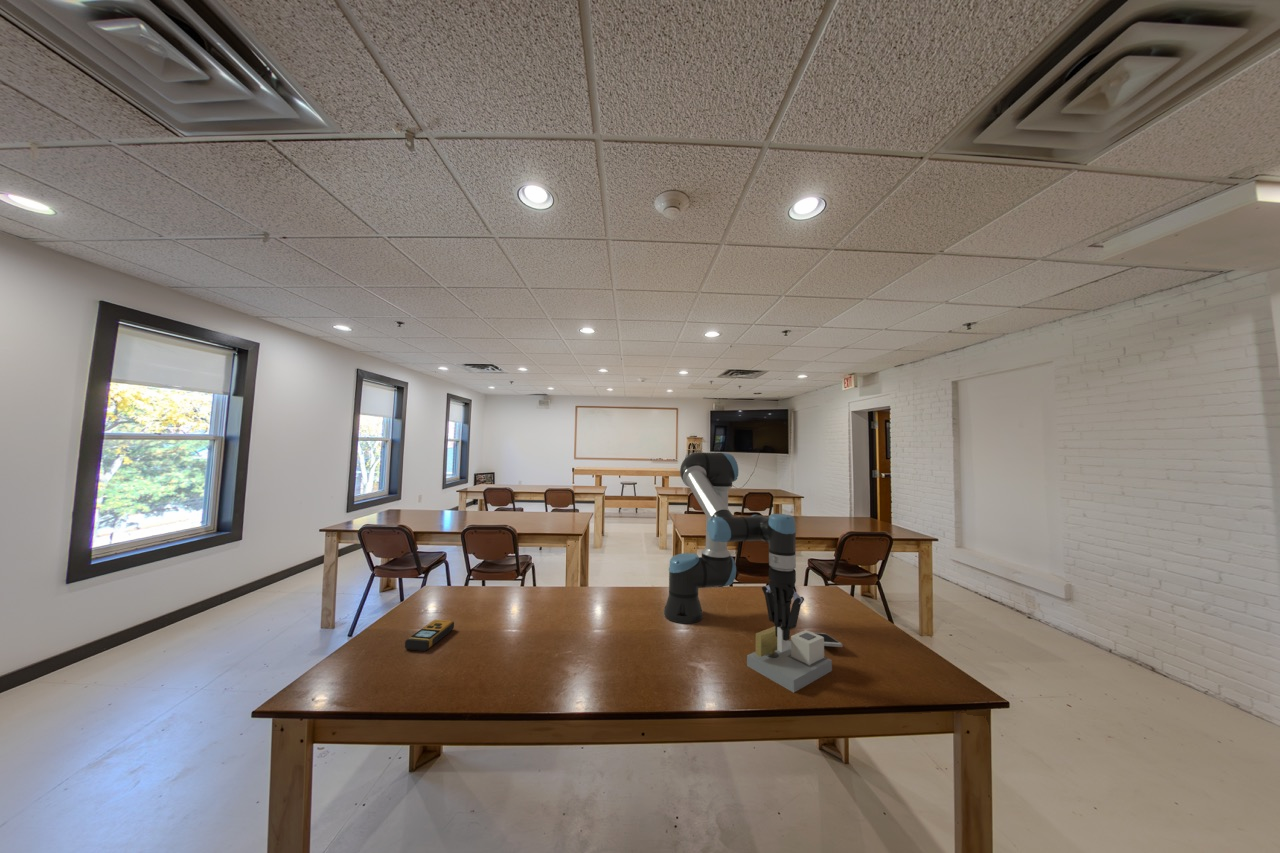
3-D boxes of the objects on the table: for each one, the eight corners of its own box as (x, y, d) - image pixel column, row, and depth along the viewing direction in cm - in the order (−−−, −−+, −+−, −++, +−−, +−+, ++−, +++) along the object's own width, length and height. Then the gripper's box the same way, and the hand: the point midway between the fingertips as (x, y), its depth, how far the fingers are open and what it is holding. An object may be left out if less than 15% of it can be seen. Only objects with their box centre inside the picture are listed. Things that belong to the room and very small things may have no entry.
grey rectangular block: (791, 656, 121) (791, 635, 121) (806, 649, 126) (805, 629, 126) (809, 665, 116) (809, 643, 116) (824, 657, 121) (823, 636, 121)
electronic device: (455, 629, 141) (456, 619, 141) (428, 651, 126) (428, 640, 126) (433, 627, 142) (433, 617, 142) (403, 649, 126) (404, 638, 127)
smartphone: (820, 645, 129) (820, 642, 130) (805, 634, 144) (805, 631, 144) (843, 647, 129) (842, 644, 129) (825, 635, 144) (825, 632, 144)
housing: (747, 667, 121) (747, 654, 121) (785, 649, 132) (785, 638, 133) (793, 693, 108) (793, 679, 108) (832, 672, 119) (831, 659, 120)
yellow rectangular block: (761, 661, 117) (761, 636, 118) (755, 658, 119) (755, 633, 119) (787, 649, 125) (787, 625, 125) (781, 646, 126) (781, 623, 127)
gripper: (756, 564, 120) (755, 644, 119) (794, 575, 110) (794, 663, 108) (771, 560, 125) (771, 638, 123) (809, 571, 114) (810, 656, 112)
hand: (782, 649), depth 116 cm, fingers closed
